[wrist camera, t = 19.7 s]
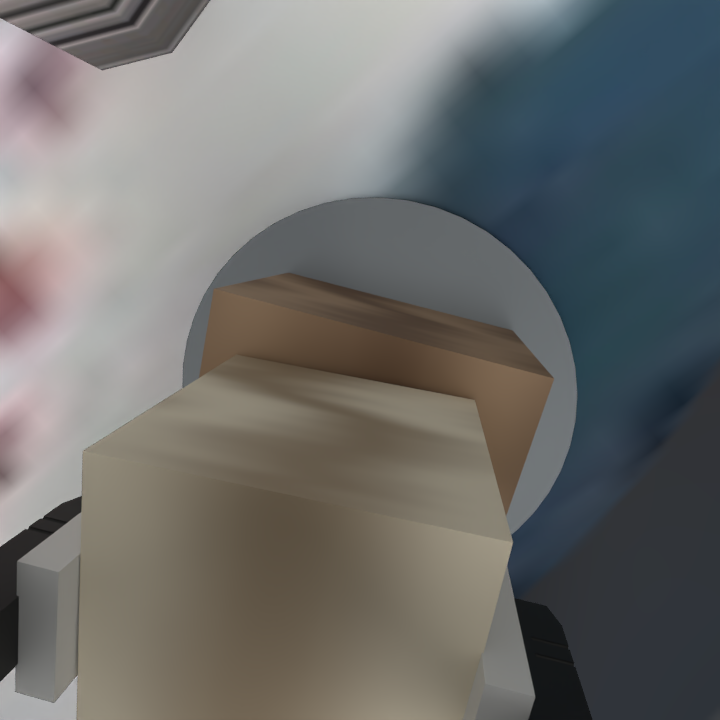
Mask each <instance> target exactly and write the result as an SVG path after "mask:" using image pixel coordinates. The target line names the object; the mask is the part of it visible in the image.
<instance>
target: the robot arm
mask: <svg viewBox="0 0 720 720" xmlns="http://www.w3.org/2000/svg"><path fill="white" fill-rule="evenodd" d="M81 509H82V496H81V497H78V498H75V499H73V500H70V501H67V502H65V503H62V504H60V505H59V506H58V507H56V508H55V509H53V510H52V511H51V512H49V513H48V514H46V515H45V516H44V518H43V519H39V520H38V521H36V522H35V523H33V524H32V525H31V526H29V529H28V530H27V529H25V530H23V531H22V532H21V533H19V534H18V535H16V536H15V537H14V538H12V539H11V540H9V541H8V542H6V543H5V544H4V545H2V546H1V547H0V681H1V680H2V679H3V678H4V677H5V676H6V675H7V674H8V673H9V672H10V671H11V670H12V669H13V668H14V667H15V666H16V675H15V692H17V693H21V694H24V695H28V696H31V697H35V698H38V699H42V700H45V701H49V702H52V703H54V702H55V701H56V700H57V699H58V698H59V696H60V695H61V694H62V693H63V692H64V690H65V689H66V688H67V687H68V686H69V684H70V683H71V682H72V681H73V679H74V678H75V677H76V676H77V675H78V638H79V595H80V552H81ZM463 720H592V717H591V714H590V711H589V708H588V705H587V702H586V699H585V696H584V692H583V689H582V686H581V683H580V680H579V677H578V674H577V671H576V668H575V667H574V662H573V659H572V656H571V653H570V650H568V643H567V640H566V637H565V634H564V631H563V628H562V625H561V624H560V623H559V622H558V620H557V619H556V618H555V616H554V615H553V614H552V613H551V611H550V610H549V609H548V608H547V606H544V605H539V604H536V603H532V602H527V601H523V600H519V599H515V598H514V596H513V591H512V587H511V582H510V577H509V573H508V568H507V567H506V571H505V574H504V578H503V582H502V586H501V589H500V593H499V597H498V601H497V604H496V608H495V612H494V616H493V619H492V623H491V627H490V631H489V634H488V638H487V642H486V646H485V649H484V653H482V654H481V657H480V661H479V664H478V668H477V671H476V675H475V678H474V682H473V685H472V689H471V692H470V696H469V699H468V703H467V706H466V710H465V713H464V717H463Z"/></svg>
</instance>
